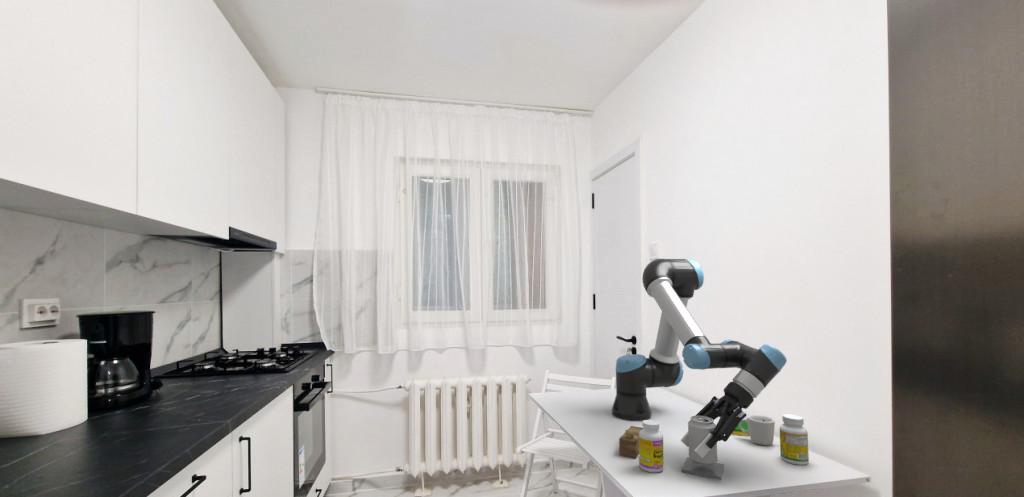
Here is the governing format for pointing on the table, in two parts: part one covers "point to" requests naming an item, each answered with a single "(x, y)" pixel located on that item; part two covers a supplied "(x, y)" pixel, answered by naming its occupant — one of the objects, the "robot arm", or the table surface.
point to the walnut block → (630, 442)
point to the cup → (759, 429)
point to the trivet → (703, 469)
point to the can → (701, 439)
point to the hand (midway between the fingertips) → (691, 448)
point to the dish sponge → (738, 431)
